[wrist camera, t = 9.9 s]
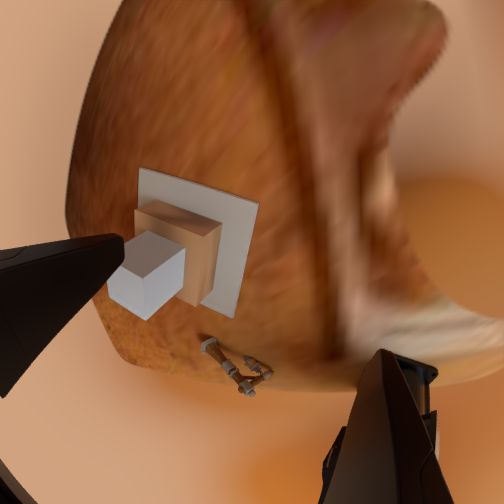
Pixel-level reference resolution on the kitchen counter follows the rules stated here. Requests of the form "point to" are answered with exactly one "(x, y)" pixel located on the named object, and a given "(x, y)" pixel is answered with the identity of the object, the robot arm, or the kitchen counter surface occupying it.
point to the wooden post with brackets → (234, 373)
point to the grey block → (148, 274)
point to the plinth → (185, 244)
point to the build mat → (217, 208)
